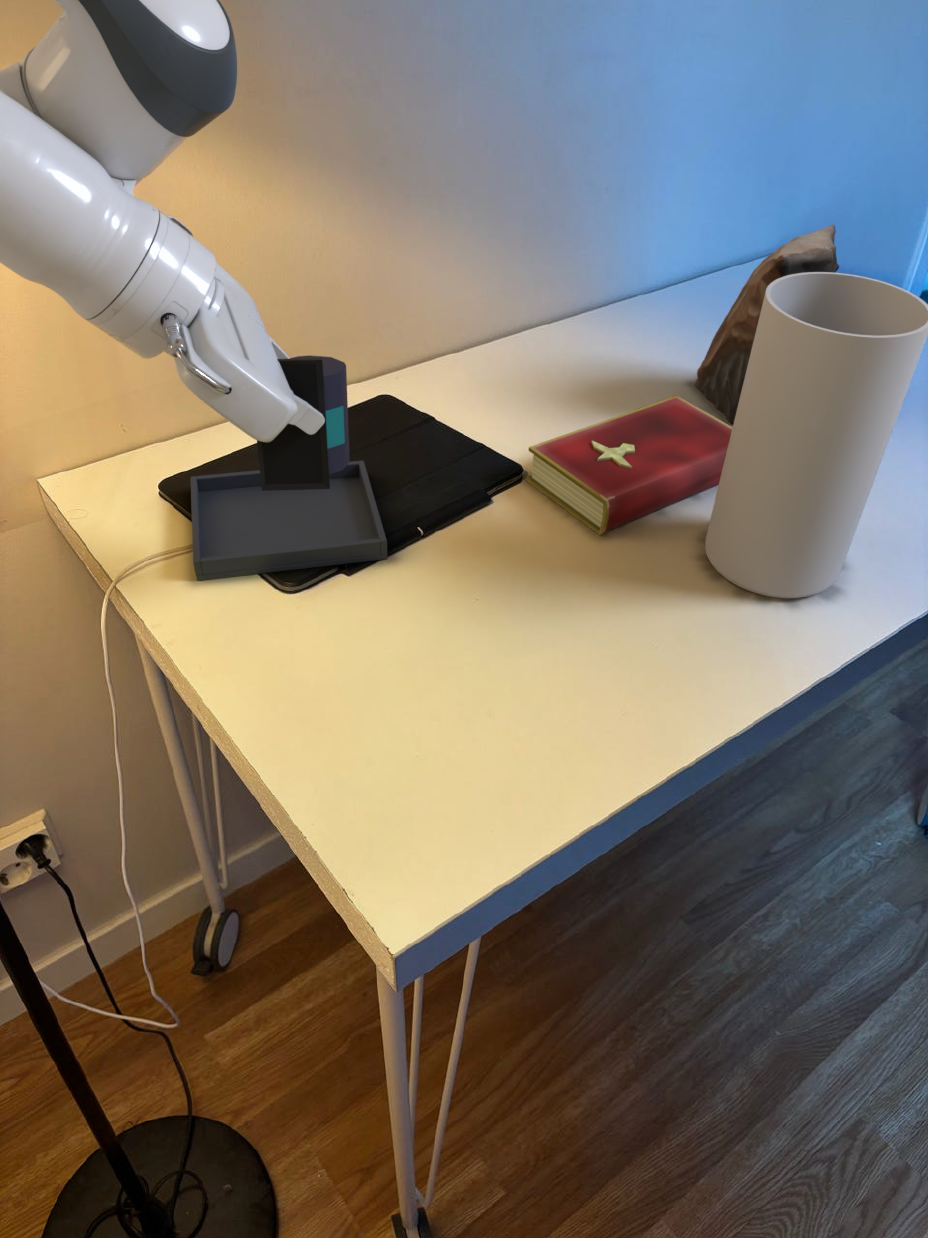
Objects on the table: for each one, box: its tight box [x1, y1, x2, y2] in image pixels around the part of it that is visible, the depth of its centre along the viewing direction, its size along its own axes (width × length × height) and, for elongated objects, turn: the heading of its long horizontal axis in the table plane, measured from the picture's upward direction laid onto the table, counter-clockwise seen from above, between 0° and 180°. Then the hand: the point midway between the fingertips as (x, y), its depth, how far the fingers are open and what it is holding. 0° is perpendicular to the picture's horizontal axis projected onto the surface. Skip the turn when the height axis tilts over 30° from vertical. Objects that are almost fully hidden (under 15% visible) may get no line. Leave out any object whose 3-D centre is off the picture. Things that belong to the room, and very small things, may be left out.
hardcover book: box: [525, 394, 733, 536], centre depth 99 cm, size 12×21×4 cm, turn 125°
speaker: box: [256, 354, 351, 491], centre depth 74 cm, size 8×6×10 cm
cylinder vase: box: [704, 272, 928, 599], centre depth 82 cm, size 12×12×25 cm
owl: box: [693, 224, 840, 425], centre depth 106 cm, size 13×13×20 cm
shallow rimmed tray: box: [190, 460, 388, 582], centre depth 91 cm, size 17×14×2 cm
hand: (308, 401), depth 75 cm, fingers closed on speaker, 6 cm apart
